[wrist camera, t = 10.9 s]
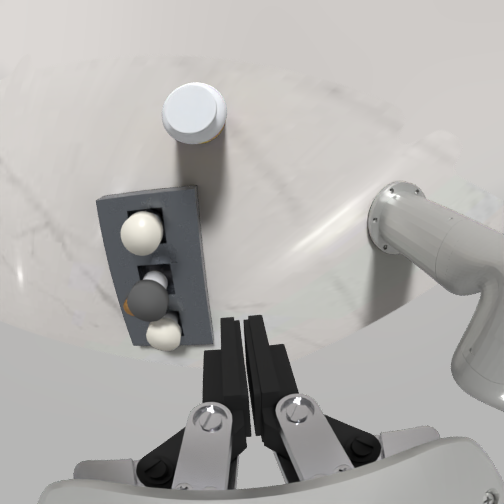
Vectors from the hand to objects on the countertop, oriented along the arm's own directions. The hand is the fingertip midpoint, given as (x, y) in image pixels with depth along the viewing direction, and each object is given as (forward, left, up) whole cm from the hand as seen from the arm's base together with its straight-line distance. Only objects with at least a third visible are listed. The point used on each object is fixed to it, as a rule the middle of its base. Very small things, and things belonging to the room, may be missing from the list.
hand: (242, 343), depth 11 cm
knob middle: (+11, +11, -26) cm, 30 cm away
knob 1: (+11, +3, -29) cm, 31 cm away
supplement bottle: (+3, -11, -29) cm, 31 cm away
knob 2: (+11, +18, -29) cm, 36 cm away
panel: (+11, +11, -29) cm, 33 cm away
